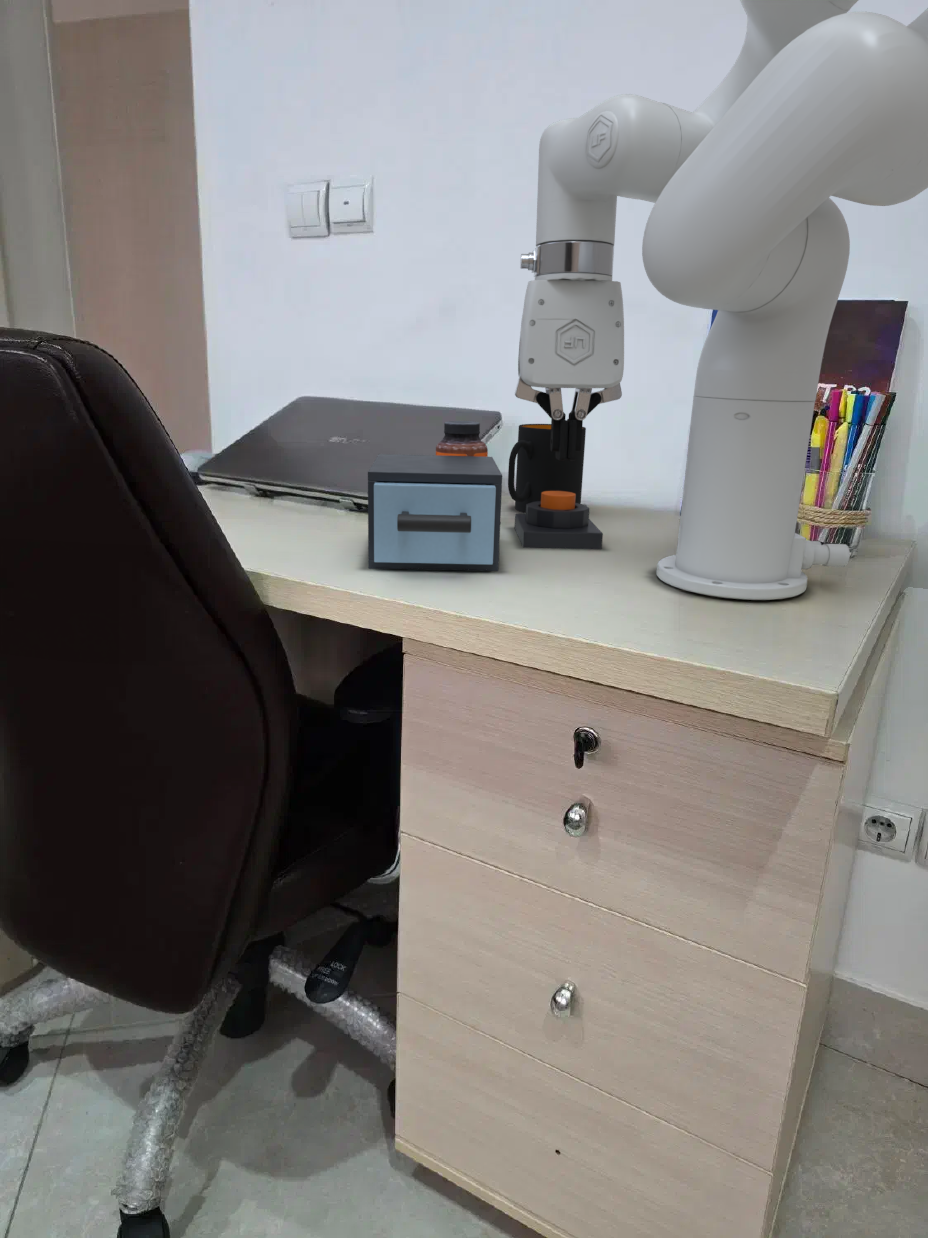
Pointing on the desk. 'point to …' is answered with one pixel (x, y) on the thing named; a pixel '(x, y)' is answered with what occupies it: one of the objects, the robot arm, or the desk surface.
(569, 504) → the release button
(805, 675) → the desk surface
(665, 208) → the robot arm
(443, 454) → the supplement bottle
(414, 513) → the light blue drawer
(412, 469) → the drawer cabinet
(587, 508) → the panel
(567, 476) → the mug
